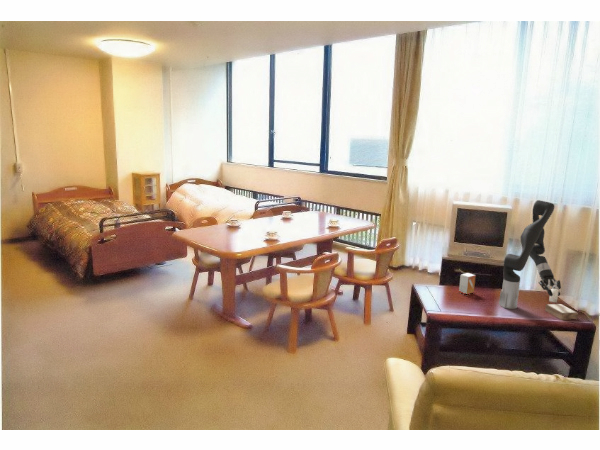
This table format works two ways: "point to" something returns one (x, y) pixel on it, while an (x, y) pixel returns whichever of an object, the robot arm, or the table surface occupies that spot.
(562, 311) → the dock
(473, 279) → the small box
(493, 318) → the table surface
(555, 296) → the canister
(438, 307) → the table surface
